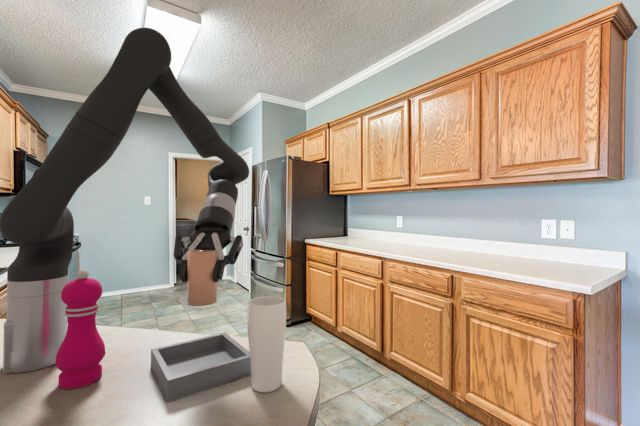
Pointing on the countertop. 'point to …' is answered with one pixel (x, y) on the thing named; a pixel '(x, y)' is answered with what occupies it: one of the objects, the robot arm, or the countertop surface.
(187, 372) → the charcoal tray
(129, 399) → the countertop surface
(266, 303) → the drinking glass
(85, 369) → the pepper mill
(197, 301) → the terracotta cup
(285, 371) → the countertop surface
